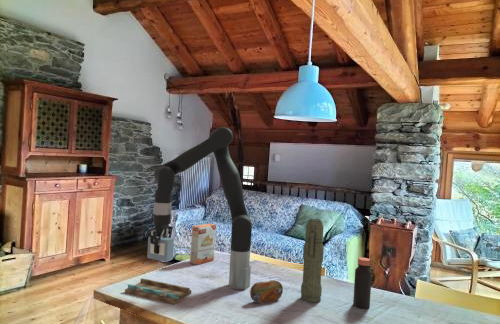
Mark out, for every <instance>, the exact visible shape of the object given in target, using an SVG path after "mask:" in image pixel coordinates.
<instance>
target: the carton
mask: <svg viewBox="0 0 500 324" xmlns="http://www.w3.org/2000/svg"><path fill="white" fill-rule="evenodd" d="M153 241H154V239H153ZM157 242H158V239H157ZM174 243H175V238H172V237H171V238H166V237H162V239H161V240H160V244H159V245H160V248H159V254H155V253H154V244H151V241H150V236H149V237H148V238H147V252H146V253H147V255H146V256H147V259H150V260H156V261H160V262H165V263H168V262H169V261H172V260H173V259H174Z"/></svg>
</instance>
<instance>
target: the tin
mask: <svg viewBox="0 0 500 324" xmlns="http://www.w3.org/2000/svg"><path fill="white" fill-rule="evenodd" d="M283 292H284V288H283V285H282V283H281V282H280V281H278V280H273V279H271V280H265V281H259V282H256V283H255V282H254V284H253V285H252V286H251V288H250V290H249V296H250V298H251V300H252V301H253V302H255V303H256V304H265V303H271V302H276V301H278V300H279V299H280V298H281V297H282V295H283Z"/></svg>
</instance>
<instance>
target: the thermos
mask: <svg viewBox="0 0 500 324" xmlns="http://www.w3.org/2000/svg"><path fill="white" fill-rule="evenodd" d="M323 239H324V224H323V221H322V220H321V219H318V218H309V219H307V222H306V225H305V241H304V245H303V247H302V250H303V251H302V260H303V270H302V272H303V273H302V283H301V285H300V299H301V301H302V302H305V303H309V304H318V303H321V300H322V298H321V297H322V293H323V292H322V291H323V288H322V284H321V283H322V267H323V266H322V264H323V261H324V253H325V249H324V244H323V242H324V241H323Z"/></svg>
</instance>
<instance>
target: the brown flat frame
mask: <svg viewBox="0 0 500 324" xmlns="http://www.w3.org/2000/svg"><path fill="white" fill-rule="evenodd" d="M139 281H140V282H138V283H136V284H131V283H129V284H127V288H125V289H124V294H128V295H133V296H136V297H137V296H138V297H141V298H145V299H149V300H153V301H157V302H162V303H167V304H171V305H177V304H178V303H180V302H181V301H182V300H184V299H186V298H187V297H188V296H190V295H191V294H192V290H191V289H190V288H189V287H185V286H181V285H176V284H171V283H167V282H162V281H157V280H153V279H147V278H140V280H139Z"/></svg>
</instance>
